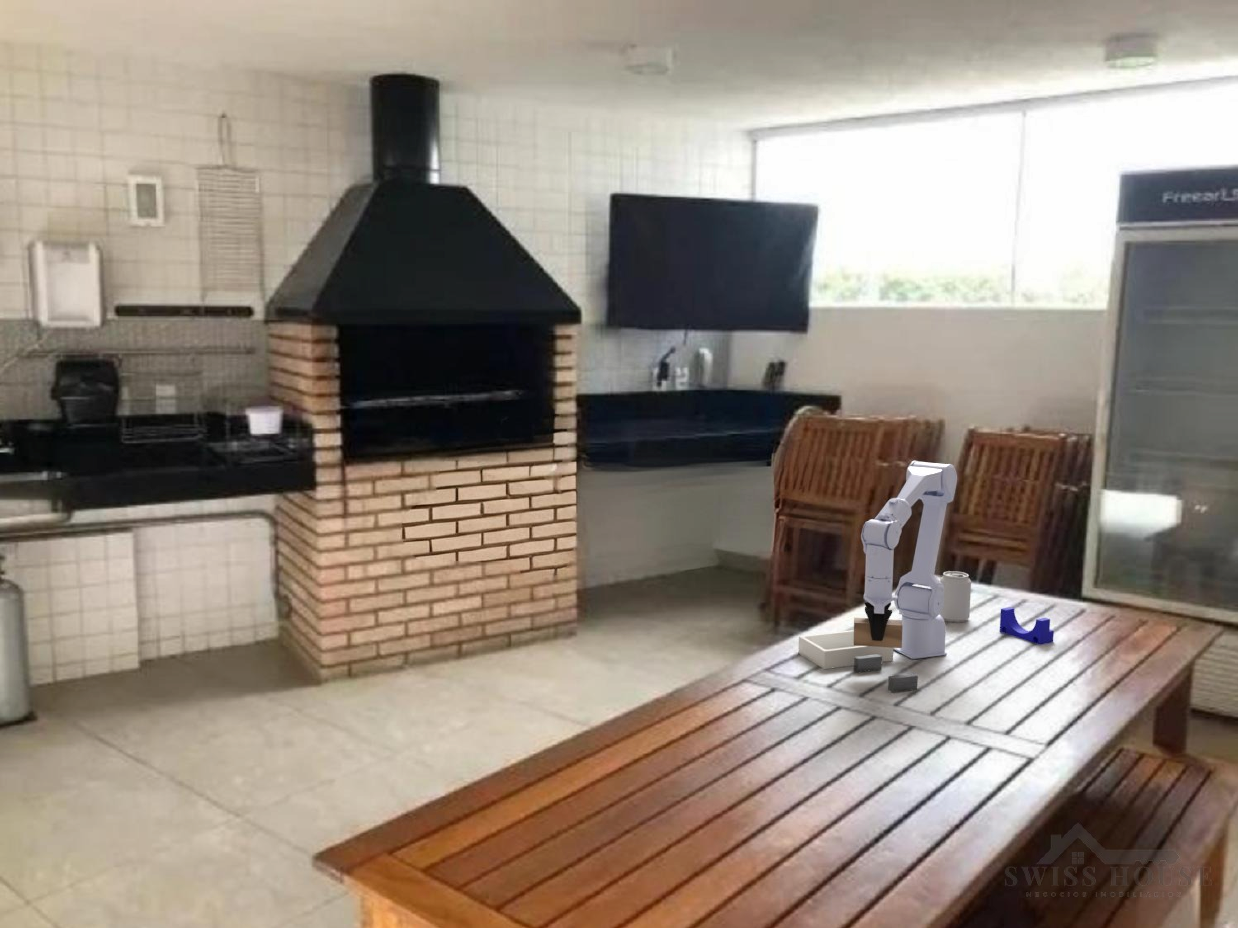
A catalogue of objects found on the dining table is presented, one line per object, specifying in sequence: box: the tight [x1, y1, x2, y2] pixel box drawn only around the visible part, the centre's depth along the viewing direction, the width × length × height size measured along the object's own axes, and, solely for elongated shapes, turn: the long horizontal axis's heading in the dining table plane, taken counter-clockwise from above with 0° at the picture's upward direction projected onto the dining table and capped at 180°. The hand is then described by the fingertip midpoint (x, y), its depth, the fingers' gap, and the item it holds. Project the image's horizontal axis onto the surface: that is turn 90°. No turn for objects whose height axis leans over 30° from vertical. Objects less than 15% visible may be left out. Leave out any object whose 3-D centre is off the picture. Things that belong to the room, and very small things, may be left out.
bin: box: [798, 629, 894, 670], centre depth 238 cm, size 18×12×4 cm, turn 109°
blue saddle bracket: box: [999, 606, 1055, 646], centre depth 253 cm, size 12×4×6 cm, turn 29°
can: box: [939, 570, 972, 623], centre depth 267 cm, size 8×8×12 cm
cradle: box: [853, 654, 919, 694], centre depth 223 cm, size 6×15×3 cm, turn 19°
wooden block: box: [853, 617, 903, 648], centre depth 225 cm, size 4×10×5 cm, turn 78°
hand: (876, 636), depth 226 cm, fingers closed on wooden block, 4 cm apart
